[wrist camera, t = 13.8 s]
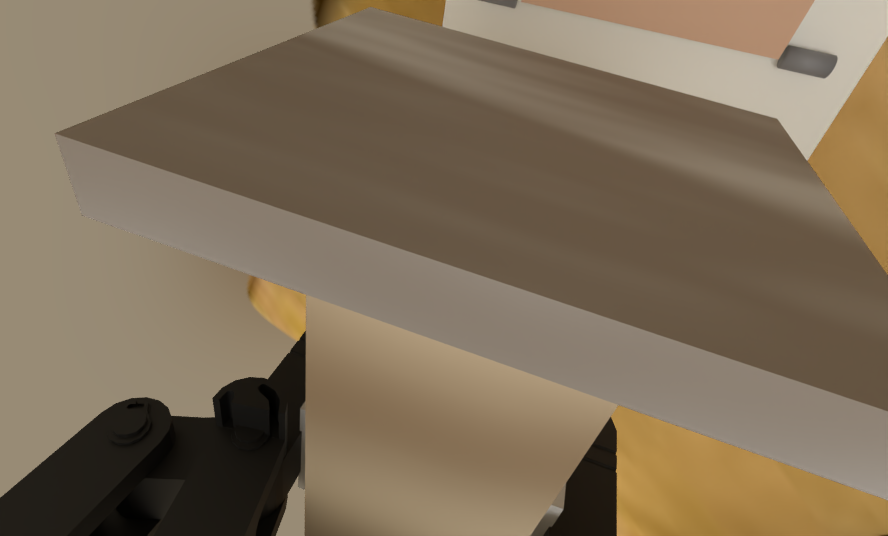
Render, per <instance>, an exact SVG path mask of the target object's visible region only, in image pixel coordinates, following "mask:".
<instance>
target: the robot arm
mask: <svg viewBox="0 0 888 536" xmlns="http://www.w3.org/2000/svg"><path fill="white" fill-rule="evenodd" d="M305 404H306V331H305V332H304V334H303V335H302V336H301V337H300V340H299V341H297V343H296V344H295V345H294V346H293V348H292V349H291V351H290V353H288V354H287V355H286V357H285V358H284V359H283V360H282V362H281V363H280V364H279V366H278V367H277V368H276V369H275V371H274V372H273V373H272V375H271V376H270V377H269V378H268V380H267V379H265V378H254V377H248V378H244V379H240V380H236V381H233V382H232V383H230V384H228V385H227V386H225V387H223V388H221V390H220V391H219V392H218V393H217V394H216V395H215V396H214V397H213V405H214V412H215V417H212V418H198V417H182V416H171V415H170V412H169V409H168V407H167V406H165V405H164V404H163V403H162V402H160V401H159V400H155V399H151V398H147V397H145V398H131V399H128V400H125V401H122V402H119V403H116V404H114V405H113V406H111V407H109V408H108V409H106V410H105V411H103V412H102V413H101V414H99V415H98V416H97V417H96V418H94V419H93V420H92V421H91V422H90V423H89V424H87V425H86V426H85V427H84V428H83V429H81V430H80V431H79V432H78V433H77V434H75V435H74V436H73V437H72V438H71V439H70V440H68V441H67V442H66V443H65V444H64V445H62V446H61V447H60V448H59V449H58V450H57V451H55V452H54V453H53V454H52V455H51V456H49V457H48V458H47V459H46V460H45V461H43V462H42V463H41V464H40V465H39V466H38V467H36V468H35V469H34V470H33V471H32V472H30V473H29V474H28V475H27V476H26V477H25V478H23V479H22V480H21V481H20V482H18V483H17V484H16V485H15V486H14V487H13V488H11V489H10V490H9V491H8V492H7V493H6V494H4V495H3V496H2V497H1V498H0V536H276V533H277V531H278V528H279V525H280V522H281V520H282V517H283V515H284V512H285V509H286V503H287V498H288V495H287V494H288V492H289V491H290V489H291V487H292V485H293V484H294V482H295V480H296V478H297V477H298V475H299V478H298V487H300V488H302V489H305ZM616 452H617V431H616V428H615V426H614V423H613V421H612V419H611V417H610V418H609V420H608V421H607V423H606V424H605V426H604V427H603V429H602V430H601V432H600V433H599V435H598V436H597V438H596V439H595V441H594V442H593V444H592V445H591V446H590V448H589V449H588V451H587V452H586V454H585V455H584V457H583V458H582V460H581V461H580V463H579V464H578V466H577V467H576V469H575V470H574V472H573V473H572V475H571V476H570V478H569V479H568V481H567V482H566V484H565V485H564V487H563V488H562V490H561V491H560V492H559V494H558V495H557V497H556V498H555V500H554V501H553V503H552V504H551V506H550V507H549V509H548V510H547V512H546V513H545V515H544V516H543V518H542V519H541V521H540V522H539V524H538V525H537V527H536V528H535V530H534V531H533V533H532V534H531V535H530V536H617V473H616V469H617V455H616Z"/></svg>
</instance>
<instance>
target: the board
mask: <svg viewBox="0 0 888 536" xmlns="http://www.w3.org/2000/svg"><path fill="white" fill-rule="evenodd" d="M442 27H445V28H449V29H452V30H456V31H460V32H463V33H467V34H470V35H474V36H478V37H481V38H485V39H489V40H492V41H496V42H500V43H503V44H507V45H511V46H514V47H518V48H521V49H525V50H529V51H532V52H536V53H540V54H543V55H547V56H551V57H554V58H558V59H562V60H565V61H569V62H572V63H576V64H580V65H583V66H587V67H591V68H594V69H598V70H602V71H605V72H609V73H612V74H616V75H620V76H623V77H627V78H631V79H634V80H638V81H642V82H645V83H649V84H653V85H656V86H660V87H663V88H667V89H671V90H674V91H678V92H682V93H685V94H689V95H693V96H696V97H700V98H704V99H707V100H711V101H714V102H718V103H722V104H725V105H729V106H733V107H736V108H740V109H744V110H747V111H751V112H754V113H758V114H762V115H765V116H769V117H773V118H776V119H778V120H779V122H780V123H781V125H782V126H783V127H784V129H785V130H786V132H787V133H788V135H789V136H790V137H791V139H792V140H793V142H794V143H795V144H796V146H797V147H798V149H799V150H800V152H801V153H802V154H803V156H804V157H805V159H806V160H808V159H809V157H810V156H811V154H812V153H813V151H814V150H815V148H816V146H817V145H818V143H819V142H820V140H821V139H822V137H823V136H824V134H825V133H826V131H827V129H828V128H829V126H830V125H831V123H832V122H833V120H834V119H835V117H836V116H837V114H838V112H839V111H840V109H841V108H842V106H843V105H844V103H845V102H846V100H847V99H848V97H849V95H850V94H851V92H852V91H853V89H854V88H855V86H856V85H857V83H858V82H859V80H860V78H861V77H862V75H863V74H864V72H865V71H866V69H867V68H868V66H869V65H870V63H871V61H872V60H873V58H874V57H875V55H876V54H877V52H878V51H879V49H880V48H881V46H882V44H883V43H884V41H885V40H886V38H887V37H888V0H815V1H814V3H813V4H812V6H811V7H810V9H809V11H808V12H807V14H806V16H805V17H804V19H803V21H802V22H801V24H800V25H799V27H798V29H797V30H796V32H795V34H794V35H793V37H792V38H791V40H790V42H789V43H788V45H787V47H786V48H785V50H784V52H783V53H782V55H781V56H780V58H779V60H778V59H773V58H769V57H764V56H760V55H755V54H751V53H746V52H742V51H737V50H733V49H729V48H724V47H720V46H715V45H711V44H706V43H702V42H697V41H693V40H689V39H684V38H680V37H675V36H671V35H666V34H662V33H657V32H653V31H649V30H644V29H640V28H635V27H631V26H626V25H622V24H617V23H613V22H608V21H604V20H600V19H595V18H591V17H586V16H582V15H577V14H573V13H568V12H564V11H560V10H555V9H551V8H546V7H542V6H537V5H533V4H528V3H524V2H521V0H446V4H445V11H444V18H443V25H442Z"/></svg>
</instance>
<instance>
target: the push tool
mask: <svg viewBox="0 0 888 536" xmlns="http://www.w3.org/2000/svg"><path fill="white" fill-rule="evenodd" d="M55 136H56V139H57V142H58V145H59V148H60V151H61V154H62V157H63V160H64V163H65V166H66V169H67V172H68V175H69V178H70V181H71V184H72V187H73V190H74V193H75V196H76V199H77V202H78V205H79V208H80V211H81V214H82V216H86V217H88V218H91V219H94V220H96V221H99V222H102V223H105V224H108V225H111V226H113V227H117V228H119V229H122V230H125V231H128V232H130V233H133V234H136V235H139V236H142V237H145V238H148V239H150V240H153V241H156V242H159V243H162V244H165V245H167V246H170V247H173V248H176V249H179V250H181V251H184V252H187V253H190V254H193V255H196V256H199V257H201V258H204V259H207V260H210V261H213V262H216V263H219V264H221V265H224V266H227V267H230V268H232V269H235V270H238V271H241V272H244V273H246V274H249V275H252V276H255V277H258V278H261V279H263V280H266V281H269V282H272V283H275V284H278V285H280V286H283V287H286V288H289V289H292V290H294V291H297V292H300V293H303V294H306V404H305V536H530V535H531V534H532V533H533V531H534V530H535V528H536V527H537V525H538V524H539V522H540V521H541V519H542V518H543V516H544V515H545V513H546V512H547V510H548V509H549V507H550V506H551V504H552V503H553V501H554V500H555V498H556V497H557V495H558V494H559V492H560V491H561V490H562V488H563V487H564V485H565V484H566V482H567V481H568V479H569V478H570V476H571V475H572V473H573V472H574V470H575V469H576V467H577V466H578V464H579V463H580V461H581V460H582V458H583V457H584V455H585V454H586V452H587V451H588V449H589V448H590V446H591V445H592V444H593V442H594V441H595V439H596V438H597V436H598V435H599V433H600V432H601V430H602V429H603V427H604V426H605V424H606V423H607V421H608V420H609V418H610V417H611V415H612V414H613V412H614V411H615V409H616V408H617V406H618V405H620V406H623V407H625V408H628V409H631V410H634V411H637V412H640V413H642V414H645V415H648V416H651V417H654V418H657V419H659V420H662V421H665V422H668V423H671V424H674V425H676V426H679V427H682V428H685V429H688V430H691V431H693V432H696V433H699V434H702V435H705V436H708V437H710V438H713V439H716V440H719V441H722V442H724V443H727V444H730V445H733V446H736V447H739V448H741V449H744V450H747V451H750V452H753V453H756V454H758V455H761V456H764V457H767V458H770V459H773V460H775V461H778V462H781V463H784V464H787V465H790V466H792V467H795V468H798V469H801V470H804V471H807V472H809V473H812V474H815V475H818V476H821V477H824V478H826V479H829V480H832V481H835V482H838V483H840V484H843V485H846V486H849V487H852V488H855V489H857V490H860V491H863V492H866V493H869V494H872V495H874V496H877V497H880V498H883V499H886V500H888V275H887V274H886V272H885V271H884V269H883V268H882V267H881V265H880V264H879V262H878V261H877V260H876V258H875V257H874V255H873V254H872V252H871V251H870V250H869V248H868V247H867V245H866V244H865V242H864V241H863V240H862V238H861V237H860V235H859V234H858V233H857V231H856V230H855V228H854V227H853V225H852V224H851V223H850V221H849V220H848V218H847V217H846V215H845V214H844V213H843V211H842V210H841V208H840V207H839V206H838V204H837V203H836V201H835V200H834V198H833V197H832V196H831V194H830V193H829V191H828V190H827V188H826V187H825V186H824V184H823V183H822V181H821V180H820V179H819V177H818V176H817V174H816V173H815V171H814V170H813V169H812V167H811V166H810V164H809V163H808V162H807V160H806V159H805V157H804V156H803V154H802V153H801V152H800V150H799V149H798V147H797V146H796V144H795V143H794V142H793V140H792V139H791V137H790V136H789V135H788V133H787V132H786V130H785V129H784V127H783V126H782V125H781V123H780V122H779V120H778V119H776V118H773V117H769V116H765V115H762V114H758V113H754V112H751V111H747V110H744V109H740V108H736V107H733V106H729V105H725V104H722V103H718V102H714V101H711V100H707V99H704V98H700V97H696V96H693V95H689V94H685V93H682V92H678V91H674V90H671V89H667V88H663V87H660V86H656V85H653V84H649V83H645V82H642V81H638V80H634V79H631V78H627V77H623V76H620V75H616V74H612V73H609V72H605V71H602V70H598V69H594V68H591V67H587V66H583V65H580V64H576V63H572V62H569V61H565V60H562V59H558V58H554V57H551V56H547V55H543V54H540V53H536V52H532V51H529V50H525V49H521V48H518V47H514V46H511V45H507V44H503V43H500V42H496V41H492V40H489V39H485V38H481V37H478V36H474V35H470V34H467V33H463V32H460V31H456V30H452V29H449V28H445V27H441V26H438V25H434V24H430V23H427V22H423V21H420V20H416V19H412V18H409V17H405V16H401V15H398V14H394V13H390V12H387V11H383V10H379V9H376V8H372V7H370V8H367V9H365V10H362V11H360V12H357V13H355V14H352V15H350V16H347V17H345V18H342V19H340V20H337V21H335V22H332V23H330V24H327V25H325V26H322V27H320V28H317V29H315V30H312V31H310V32H307V33H305V34H302V35H300V36H297V37H295V38H292V39H290V40H287V41H285V42H282V43H280V44H277V45H275V46H272V47H270V48H267V49H265V50H262V51H260V52H257V53H255V54H252V55H250V56H247V57H245V58H242V59H240V60H237V61H235V62H232V63H230V64H227V65H225V66H222V67H220V68H217V69H215V70H212V71H210V72H207V73H205V74H202V75H200V76H197V77H195V78H192V79H190V80H187V81H185V82H182V83H180V84H177V85H175V86H172V87H170V88H167V89H165V90H162V91H159V92H157V93H154V94H152V95H149V96H147V97H145V98H142V99H140V100H137V101H134V102H132V103H130V104H127V105H124V106H122V107H119V108H117V109H114V110H112V111H109V112H107V113H105V114H102V115H99V116H97V117H95V118H92V119H90V120H87V121H85V122H82V123H79V124H77V125H74V126H72V127H70V128H67V129H64V130H62V131H60V132H57V133H55Z"/></svg>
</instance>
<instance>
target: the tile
mask: <svg viewBox="0 0 888 536" xmlns="http://www.w3.org/2000/svg"><path fill="white" fill-rule="evenodd" d="M814 1H815V0H521V2H524V3H528V4H533V5H537V6H542V7H546V8H551V9H555V10H560V11H564V12H568V13H573V14H577V15H582V16H586V17H591V18H595V19H600V20H604V21H608V22H613V23H617V24H622V25H626V26H631V27H635V28H640V29H644V30H649V31H653V32H657V33H662V34H666V35H671V36H675V37H680V38H684V39H689V40H693V41H697V42H702V43H706V44H711V45H715V46H720V47H724V48H729V49H733V50H737V51H742V52H746V53H751V54H755V55H760V56H764V57H769V58H773V59H778V60H779V58H780V56H781V55H782V53H783V52H784V50H785V48H786V47H787V45H788V43H789V42H790V40H791V38H792V37H793V35H794V34H795V32H796V30H797V29H798V27H799V25H800V24H801V22H802V21H803V19H804V17H805V16H806V14H807V12H808V11H809V9H810V7H811V6H812V4H813V3H814Z"/></svg>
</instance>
